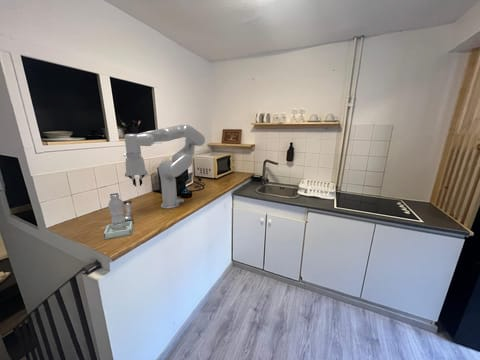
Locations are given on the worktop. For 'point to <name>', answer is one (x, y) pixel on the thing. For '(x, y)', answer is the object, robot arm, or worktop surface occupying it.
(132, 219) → the crank base
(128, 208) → the crank
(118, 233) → the tray
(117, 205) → the metal bottle
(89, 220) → the worktop surface
